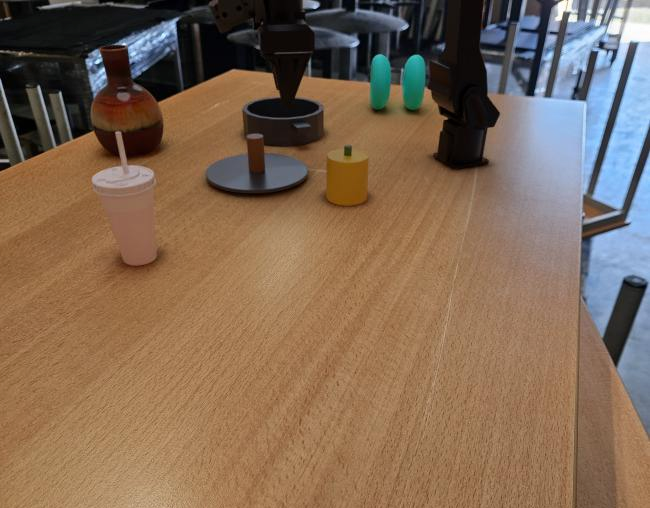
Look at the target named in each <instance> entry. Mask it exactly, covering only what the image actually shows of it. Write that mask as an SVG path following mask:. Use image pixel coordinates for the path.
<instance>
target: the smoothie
mask: <svg viewBox="0 0 650 508" xmlns="http://www.w3.org/2000/svg"><path fill="white" fill-rule="evenodd" d="M115 134H116V139H117V144H118V148H119V153H120V156H119V158H120V163H121V165H118V166H112V167H107V168H105V169H102V170H100V171H98V172H97V173H95V174H94V175H93V176H92V177H91V183H92V190H93V192H94V193H97V195H98V197H99V200H100V204H101V206H102V208H103V211H104V214H105V216H106V218H107V221H108V224H109V227H110V230H111V232H112V234H113V237H114V240H115V242H116V245H117V247H118V251H119V254H120V256H121V258H122V261H123V263H125V264H126V265H128V266H138V267H139V266H143V265H148V264H151V263H152V262H154V261H155V260H156V259H157V256H158V255H157V252H158V251H157V235H156V231H157V230H156V214H155V213H156V211H155V191H154V190H155V189H154V187H155V185H156V183H157V180H156V178H155V172H154V171H153V170H152V169H151V168H149V167H146V166H142V165H134V164H133V165H130V164H129V165H128V161H127V156H126V155H125V150H124V145H123V140H122V135H121V132H115Z"/></svg>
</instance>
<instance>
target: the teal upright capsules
mask: <svg viewBox="0 0 650 508" xmlns="http://www.w3.org/2000/svg"><path fill="white" fill-rule="evenodd" d="M424 59H425V58H423V57H422V55H420V54H413V55H412V56H410V57H409V58H408V59H407V60H406V62H405V65H404V68H403V75H402V84H401V85H402V86H401V87H402V88H401V89H402V93H401V94H402V101H403V104H404V105H405V106H406V108H407V109H409V110H410V111H415V110H418V109H419V108H421V106H422V104H423V100H424V97H425V96H424V95H425V90H426V89H425V88H426V63H425V60H424ZM370 67H371V68H370V76H369V77H370V78H369V79H370V80H369V102H370V106H371V107H372V109H374V110H376V111H379V110H382V109H384V108H385V107H386V105H387V104H388V102H389V99H390V95H391V86H392V67H391V63H390V61H389V59H388V57H386V56H385V55H384V54H379V53H378V54H376V55H375V56H374V57H372V60H371V65H370Z"/></svg>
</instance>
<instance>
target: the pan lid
mask: <svg viewBox="0 0 650 508" xmlns="http://www.w3.org/2000/svg"><path fill="white" fill-rule="evenodd" d="M245 138H246V150H247V151H246V152H247V153H241V154H236V155H231V156H226V157H224V158H221V159H218V160H216V161H215V162H213V163H211V164H210V165H209V166H208V167H207V168H206V171H205V179H206V181H207V182H208V183H209V184H210V185H212V186H213V187H215V188H217V189H220V190H224V191H227V192H233V193H239V194H266V193H276V192H279V191H284V190H289V189H290V188H293V187H295V186H297V185H300V184H301V183H303V182H304V181H305V180H306V179H307V177H308V175H309V169H308V166H307V165H306V164H305V162H303V161H302V160H300V159H298V158H296V157H293V156H290V155H286V154H280V153H271V152H270V153H269V152H265V145H264V140H263V135H261V134H249V135H247V136H246V137H245Z"/></svg>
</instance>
